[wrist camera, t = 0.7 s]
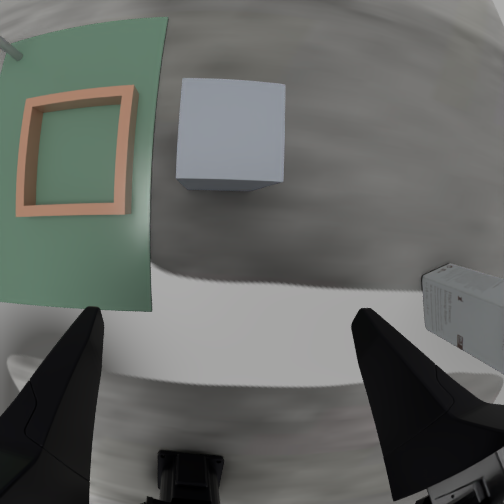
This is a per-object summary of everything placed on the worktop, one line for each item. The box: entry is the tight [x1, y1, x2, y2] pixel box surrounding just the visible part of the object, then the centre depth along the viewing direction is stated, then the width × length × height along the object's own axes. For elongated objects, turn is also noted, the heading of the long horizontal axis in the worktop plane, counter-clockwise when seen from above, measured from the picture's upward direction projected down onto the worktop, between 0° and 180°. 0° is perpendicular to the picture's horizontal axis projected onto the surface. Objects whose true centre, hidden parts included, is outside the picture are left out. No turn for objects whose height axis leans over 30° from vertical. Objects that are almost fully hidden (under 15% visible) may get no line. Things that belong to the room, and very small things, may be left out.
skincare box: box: [422, 263, 504, 374], centre depth 22 cm, size 6×4×12 cm
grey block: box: [176, 78, 285, 191], centre depth 18 cm, size 5×5×10 cm
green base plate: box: [0, 17, 168, 312], centre depth 15 cm, size 25×16×11 cm, turn 178°
